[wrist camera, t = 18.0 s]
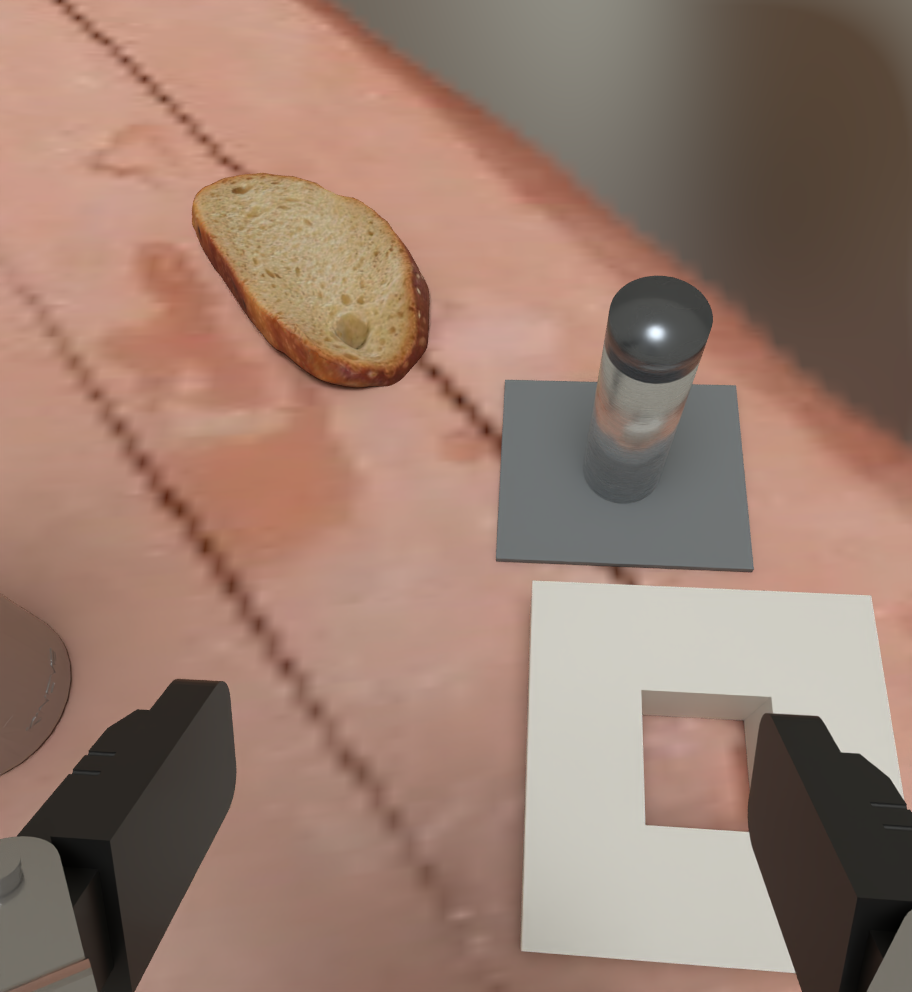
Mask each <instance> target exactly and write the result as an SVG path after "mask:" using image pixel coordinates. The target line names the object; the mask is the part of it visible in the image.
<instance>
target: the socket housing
mask: <svg viewBox="0 0 912 992" xmlns="http://www.w3.org/2000/svg"><path fill="white" fill-rule="evenodd" d="M765 713H776V714H794V715H812V716H819V717H820V718H821V719H822V720H823V722H824V724H825V725H826V727H827V729H828V730H829V732H830V734H831V736H832V737H833V739H834V741H835V743H836V744H837V746H838V748H839V750H840V751H841V752H843V753H859V754H861V755H862V756H863V757H864V758H866V759H867V760H868V761H869V762H871V763H872V764H873V765H874V766H876V767H877V768H878V769H879V770H881V771H882V772H883V773H884V774H886V775H887V776H888V777H889V778H890V779H891V781H892V782H893V784H894V785H895V787H896V789H897V790H898V792H899V793H900V795H901V796H902V798H903V800H904V796H903V790H902V784H901V777H900V771H899V765H898V759H897V753H896V747H895V740H894V734H893V728H892V722H891V716H890V710H889V703H888V697H887V691H886V685H885V679H884V672H883V666H882V660H881V654H880V648H879V642H878V635H877V629H876V623H875V617H874V611H873V605H872V598H871V596H869V595H847V594H824V593H801V592H779V591H756V590H733V589H711V588H688V587H665V586H643V585H620V584H597V583H575V582H552V581H533V582H532V597H531V612H530V641H529V674H528V707H527V739H526V772H525V805H524V837H523V870H522V903H521V935H520V949H521V951H526V952H538V953H551V954H563V955H576V956H588V957H601V958H613V959H626V960H638V961H651V962H663V963H676V964H688V965H701V966H713V967H726V968H738V969H751V970H763V971H776V972H788V973H796V972H795V970H794V967H793V964H792V961H791V958H790V955H789V952H788V949H787V947H786V944H785V941H784V938H783V935H782V932H781V929H780V926H779V924H778V921H777V918H776V915H775V912H774V909H773V906H772V903H771V900H770V898H769V895H768V892H767V889H766V886H765V883H764V880H763V877H762V875H761V872H760V869H759V866H758V863H757V860H756V857H755V854H754V852H753V848H752V845H751V841H750V835H749V832H740V831H725V830H710V829H695V828H681V827H666V826H651V825H645V795H644V762H643V729H642V715H654V716H672V717H690V718H707V719H725V720H743V721H744V729H745V740H746V752H747V764H748V776H749V788H750V787H751V780H752V773H753V765H754V758H755V751H756V744H757V737H758V730H759V724H760V721H761V718H762V716H763V715H764V714H765Z"/></svg>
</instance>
